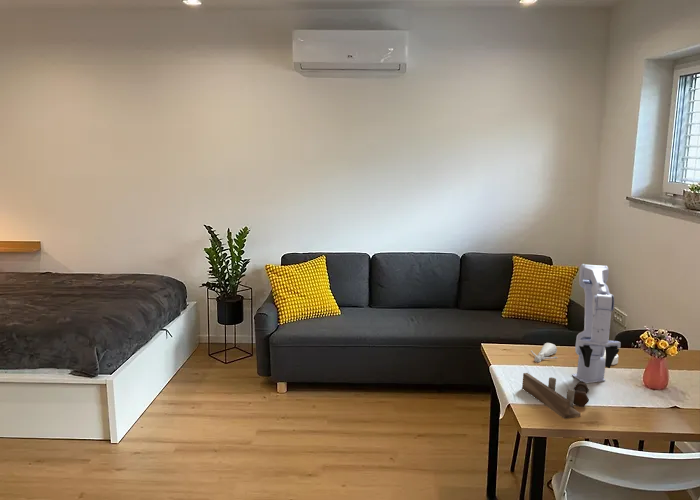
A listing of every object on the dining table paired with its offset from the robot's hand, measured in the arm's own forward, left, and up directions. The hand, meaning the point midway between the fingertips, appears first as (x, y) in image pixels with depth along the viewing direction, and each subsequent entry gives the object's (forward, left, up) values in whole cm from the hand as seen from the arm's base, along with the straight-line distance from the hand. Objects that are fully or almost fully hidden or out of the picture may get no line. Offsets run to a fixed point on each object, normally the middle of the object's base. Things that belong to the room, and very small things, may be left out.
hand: (597, 366), depth 209 cm
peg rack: (+17, -1, -12) cm, 20 cm away
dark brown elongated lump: (+4, -1, -12) cm, 13 cm away
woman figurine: (-7, -39, -12) cm, 42 cm away
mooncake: (-29, -30, -12) cm, 44 cm away
